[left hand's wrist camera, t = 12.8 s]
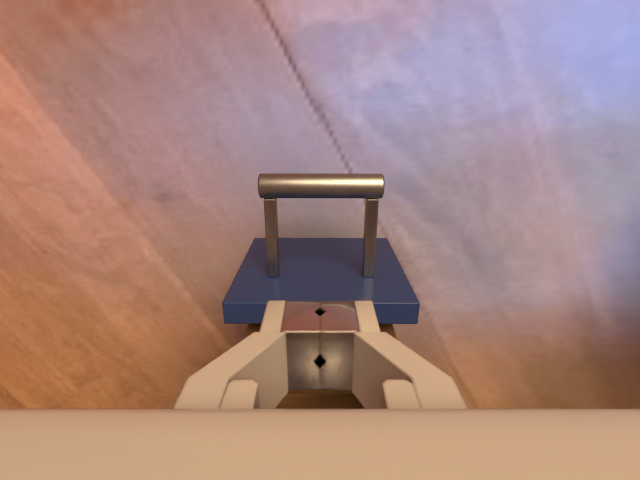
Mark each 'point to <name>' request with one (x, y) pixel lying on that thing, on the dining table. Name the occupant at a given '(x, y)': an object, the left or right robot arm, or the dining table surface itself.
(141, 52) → the dining table surface
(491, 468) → the left robot arm
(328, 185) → the drawer
